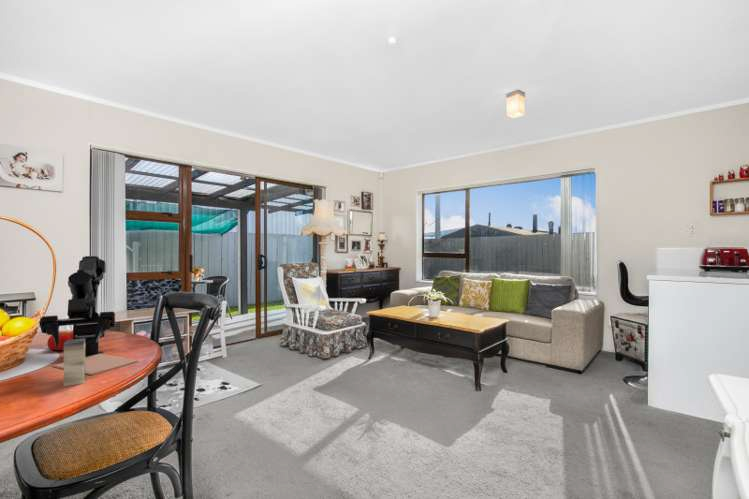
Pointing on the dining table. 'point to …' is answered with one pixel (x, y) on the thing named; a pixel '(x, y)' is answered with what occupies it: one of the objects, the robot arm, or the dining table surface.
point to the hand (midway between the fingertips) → (76, 344)
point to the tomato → (62, 339)
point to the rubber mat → (102, 363)
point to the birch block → (74, 362)
